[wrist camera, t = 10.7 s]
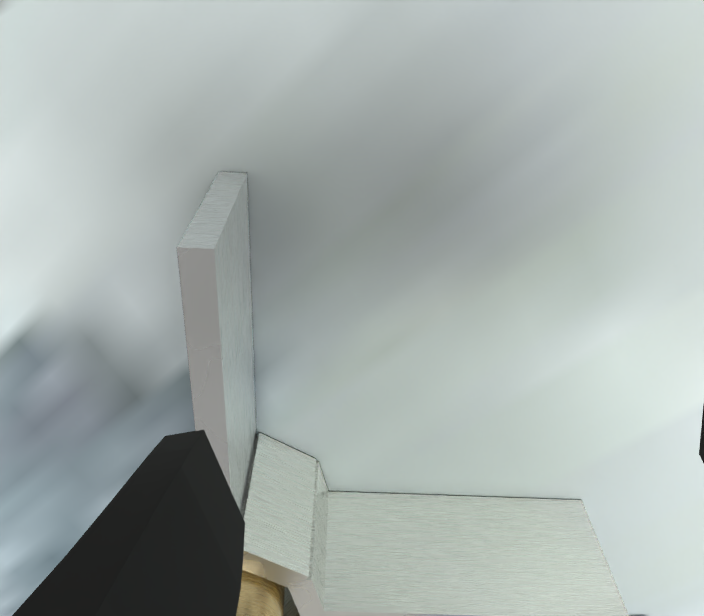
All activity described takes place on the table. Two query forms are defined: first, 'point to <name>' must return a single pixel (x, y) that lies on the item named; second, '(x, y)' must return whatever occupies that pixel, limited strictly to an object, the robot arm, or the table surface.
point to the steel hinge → (352, 507)
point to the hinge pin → (260, 596)
